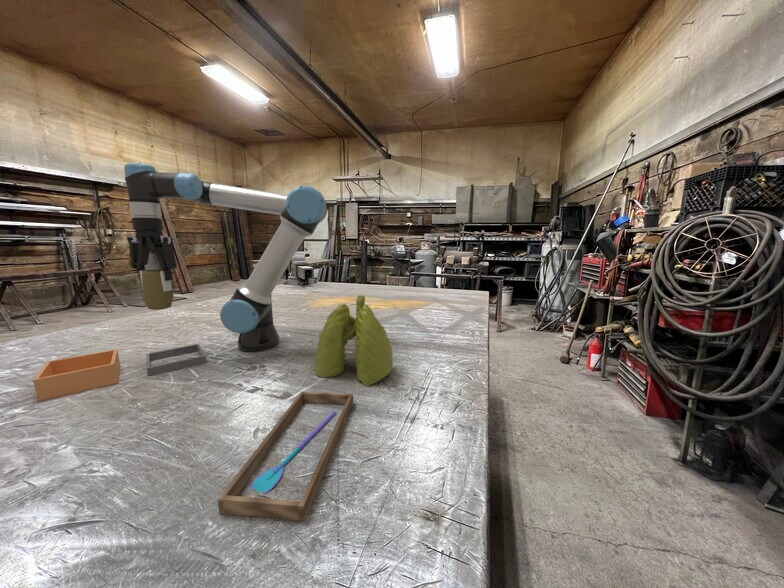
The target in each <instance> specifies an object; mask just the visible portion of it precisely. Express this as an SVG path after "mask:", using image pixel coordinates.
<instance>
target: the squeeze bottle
mask: <svg viewBox="0 0 784 588" xmlns="http://www.w3.org/2000/svg"><path fill="white" fill-rule="evenodd" d="M161 269H162V268H161V265H160V263H159V261H158V259H157V256H156V254H155V252H149V257H148V263H147V265H145V270H148V271H145V272H143V273H142V284H141V290H142V300H143V302H144V304H145V305H146V307H147V309H149V310H150V311H151V310H152V311H153V310H154V311H157V310H158V311H159V310H164V309H165V310H166V309H169V308H171V307H172V304H173V300H174V296H175V295H174V291H173V289H172V290H170V291H164V290H163V285H162V281H161V274H160V271H161Z"/></svg>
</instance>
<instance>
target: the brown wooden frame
mask: <svg viewBox="0 0 784 588" xmlns="http://www.w3.org/2000/svg"><path fill="white" fill-rule="evenodd" d="M305 403H308V404H309V403H310V404H313V403H314V404H328V405H330V404H331V405H344V406H343V408H342V411H341V412H340V414H339V417H338V418H337V421H336V423H335V426H334V427H333V430H332V432H331V434H330V436H329V439H328V440H327V443H326V445H325V447H324V448H323V452H322V454H321V456H320V458H319V460H318V462H317V464H316V467H315V469H314V471H313V473H312V476H311V478H310V480H309V482H308V483H307V486H306V488H305V491H304V492H303V494H302V497H301V499H300V500H288V499H275V498H265V497H264V498H262V497H251V496H250V497H249V496H240V492H241V491H242V490H243V488H244V487H245V485H246V484H247V483H248V481H249V480H250V478H251V477H252V475H253V474H254V473H255V471H257V468H259V465H260V464H261V463H262V461H263V460H264V459H265V458H266V456H268V455H267V454H268V453H270V451H271V449H272V448H273V446H274V445H275V444H276V442H277V440H278V439H279V438H280V436H281V435H282V434H283V433H284V431H285V429H286V428H287V426H288V425H289V424H290V423H291V421H292V420H293V418H294V417H295V415H296V414H297V413H298V411H299V410H300V408H302V406H303V405H304V404H305ZM353 405H354V394H353V393H337V392H336V393H335V392H313V391H310V392H309V391H300V393H299V394H298V395H297V397H296V398H295V400H294V401H293V402H292V403H291V404H290V406H289V407H288V408H287V409H286V411H285V412H284V414H283V415H282V416H281V417H280V418H279V420H278V421H277V422H276V423H275V425H274V426H273V427H272V429H271V430H270V432H269V433H268V434H267V435H266V436H265V438H264V439H263V441H261V442H260V444H259V445H258V447H257V448H256V449H255V450H254V451H253V453H252V454H251V455H250V457H249V458H248V460H247V461H246V462H245V463H244V464H243V466H241V468H240V470H239V471H238V472H237V473H236V475H235V476H234V477H233V479H232V480H231V481H230V483H229V484H228V485H227V486H226V488H225V489H224V490H223V491H222V493H221V494H220V495H219V497H218V498H217V505H218V513H219V514H226V515H236V516H237V515H239V516H248V517H249V516H250V517H260V518H270V519H271V518H272V519H282V520H292V521H294V520H295V521H305V520H306V518H307V516H308V512H309V511H310V508H311V506H312V503H313V501H314V499H315V497H316V494H317V492H318V490H319V487H320V484H321V482H322V479H323V477H324V474H325V472H326V469H327V468H328V464H329V463H330V461H331V458H332V456H333V453H334V450H335V448H336V446H337V443H338V441H339V438H340V436H341V434H342V431H343V429H344V427H345V425H346V421H347V420H348V416H349V414H350V412H351V409H352V407H353ZM238 495H239V496H238Z"/></svg>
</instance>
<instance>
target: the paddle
mask: <svg viewBox="0 0 784 588" xmlns="http://www.w3.org/2000/svg"><path fill="white" fill-rule="evenodd" d="M335 415H337V412H336V411H332V412H331V413H330V414H329V415H328V416H327V417H326V418H325V419H324V420H323V421H322V422H321V423H320V424H319V425H318V426H317V427H316V428H315V429H314V430H313V431H312V432H310V434H308V436H307V437H305V439H303V440H302V441H301V442H300V444H298V445H297V446H296V447H295V449H294V450H293V451H292V452H291V453H290V454H288V456H287V457H286V458H284V459H283V460H282V461H281V462H280V463H279V464H278V465H275V466H273V467H270V468H268V469H266V470H265V471H263V472H262V473H261V474H259V475H258V476H256V478H255V479H254V480H253V482H252V484H251V486H250V488H251V490H253V491H256V492H258V493H262V494H265V495H266V494H268V493H269V492H270V491H271V490H272V489H274V487H275V486H276V485H277V484H278V483H279V481H280V479H281V478H282V476H283V474H284V469H285V468H284V467H285V466H286V465H288V463H289V462H290V461H291V460H292V459H293V458H294V457H296V455H297V454H298V453H299V452H300V451H301V450H302V449H303V448H305V446H306V445H307V444H308V443H309V442H310V441H311V440H312V439H314V437H315V436H317V435H318V433H319V432H320V431H321V430H323V428H324V427H325V426H326V425H327V424H328V423H329V422H330V421H331V420H332V419H333V418H334V417H335Z"/></svg>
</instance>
